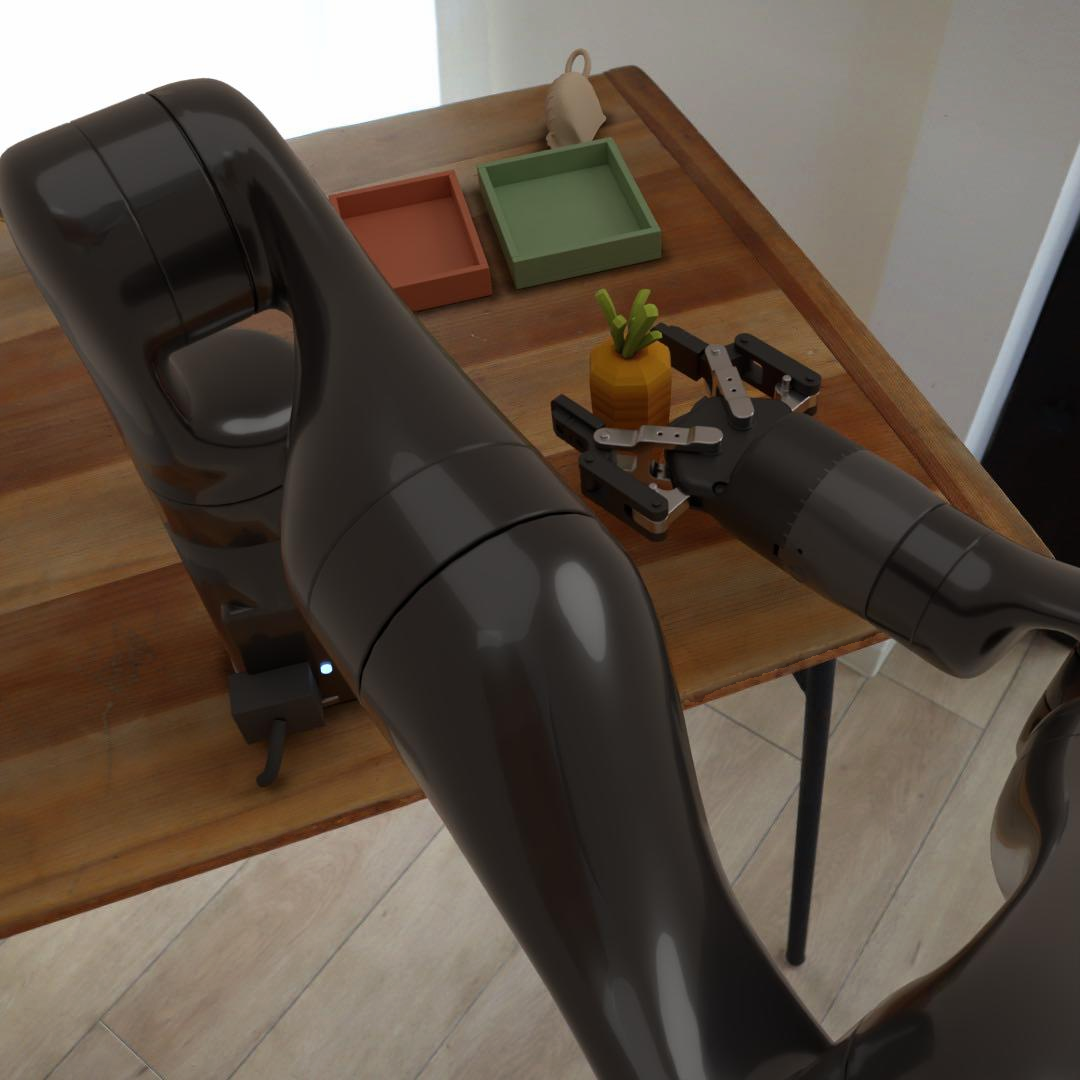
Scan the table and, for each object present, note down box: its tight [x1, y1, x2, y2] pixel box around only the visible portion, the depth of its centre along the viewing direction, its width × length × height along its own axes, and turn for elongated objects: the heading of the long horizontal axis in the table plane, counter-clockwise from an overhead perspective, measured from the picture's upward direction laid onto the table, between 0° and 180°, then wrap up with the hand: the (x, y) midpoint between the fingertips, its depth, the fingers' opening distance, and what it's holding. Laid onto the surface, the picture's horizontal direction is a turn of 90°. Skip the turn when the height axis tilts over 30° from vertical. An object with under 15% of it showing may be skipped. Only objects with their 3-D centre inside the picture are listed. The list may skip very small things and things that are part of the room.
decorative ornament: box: [544, 47, 607, 149], centre depth 98 cm, size 4×8×5 cm, turn 158°
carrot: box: [588, 288, 673, 462], centre depth 68 cm, size 5×5×15 cm
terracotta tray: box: [327, 169, 493, 313], centre depth 90 cm, size 13×10×2 cm
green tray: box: [476, 136, 662, 290], centre depth 91 cm, size 13×11×2 cm
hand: (605, 372), depth 68 cm, fingers open, 7 cm apart
